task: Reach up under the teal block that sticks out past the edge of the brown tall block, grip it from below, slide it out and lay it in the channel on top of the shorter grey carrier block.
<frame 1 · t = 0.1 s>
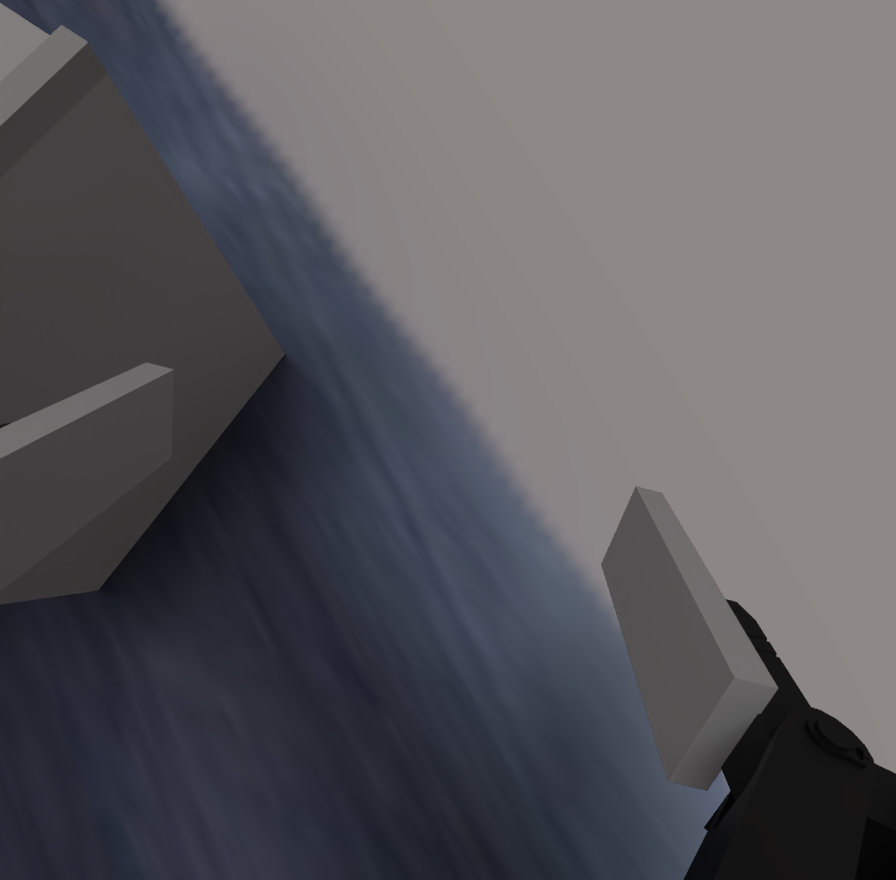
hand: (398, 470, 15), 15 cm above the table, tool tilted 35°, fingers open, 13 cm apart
carrier block: (138, 425, 30), on the table
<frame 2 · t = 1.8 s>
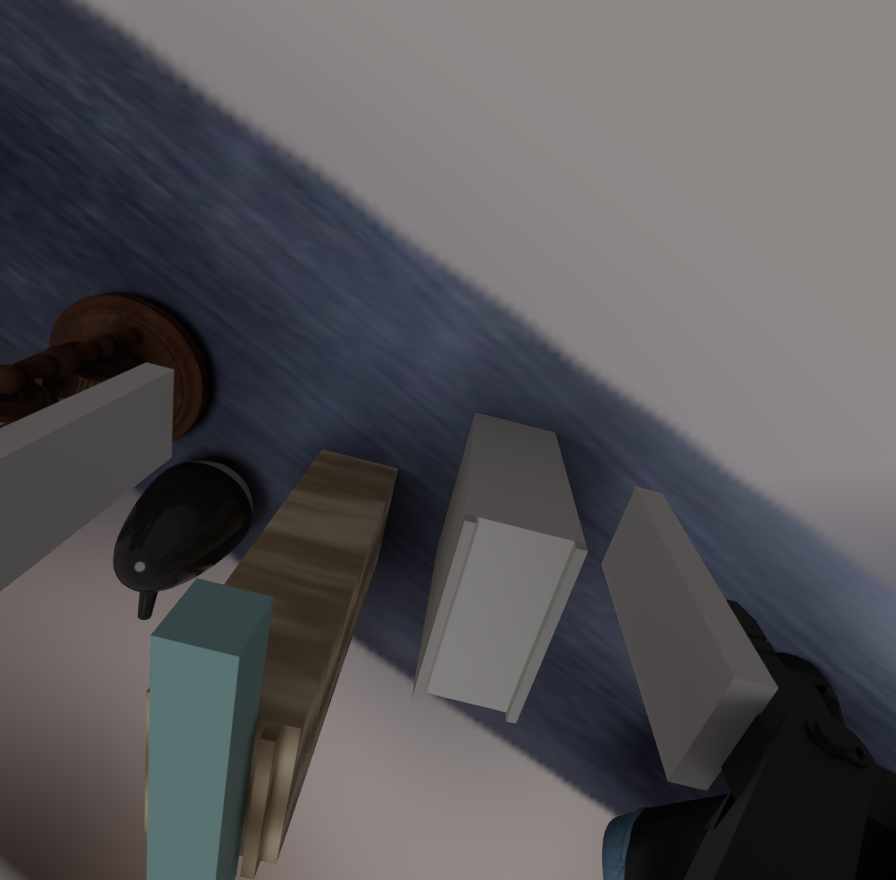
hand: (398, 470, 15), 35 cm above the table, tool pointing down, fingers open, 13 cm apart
teal block: (219, 749, 28), point 30 cm above the table, touching brown tall block
scroll: (143, 367, 53), on the table
carrier block: (493, 492, 55), on the table
pump dispenser: (220, 490, 58), on the table
brown tall block: (350, 508, 57), on the table
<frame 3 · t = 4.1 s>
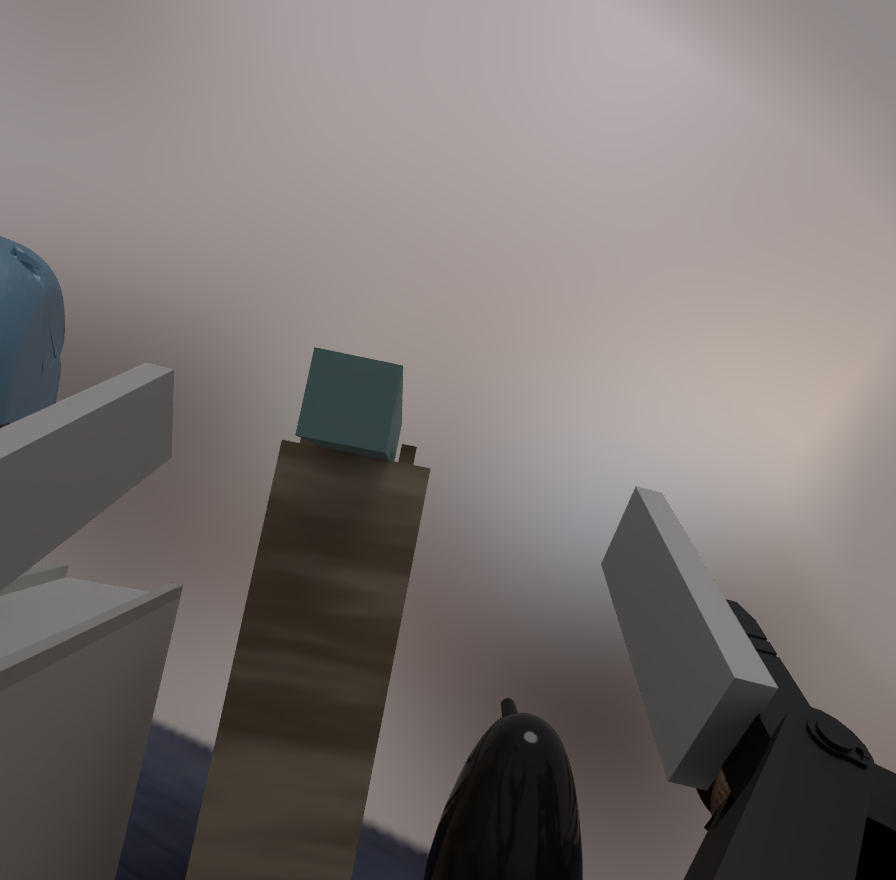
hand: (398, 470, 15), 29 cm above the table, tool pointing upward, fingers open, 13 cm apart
teal block: (361, 456, 32), point 30 cm above the table, touching brown tall block
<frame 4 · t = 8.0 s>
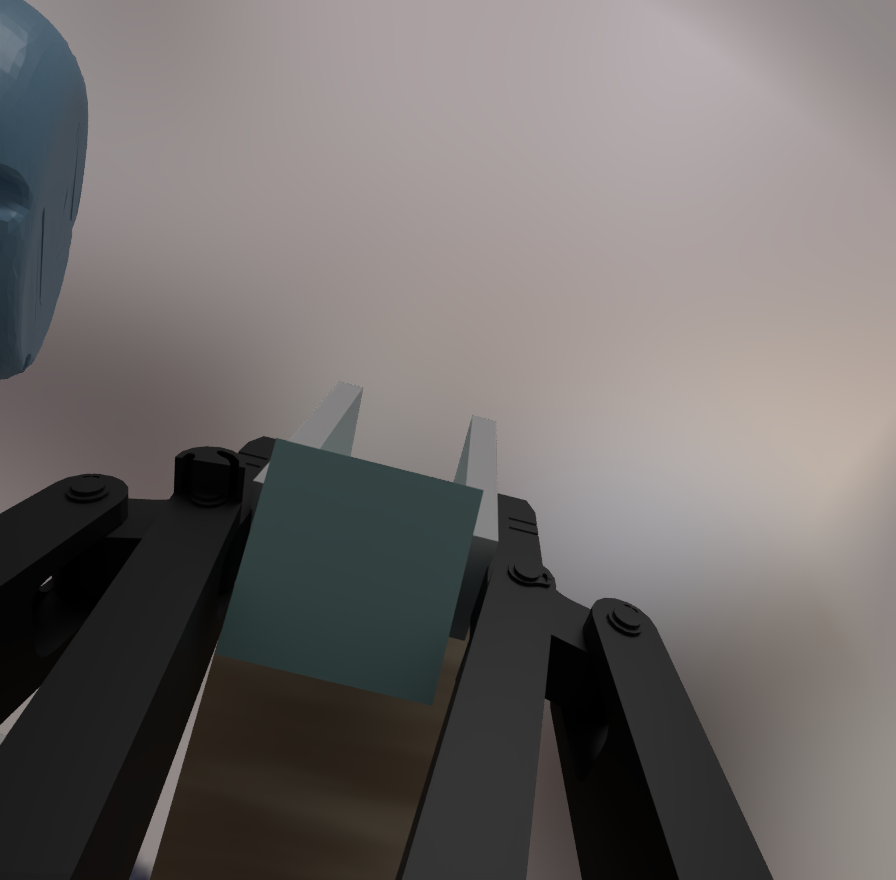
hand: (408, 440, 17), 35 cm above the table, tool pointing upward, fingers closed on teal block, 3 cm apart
teal block: (378, 573, 19), point 30 cm above the table, touching brown tall block, gripper
when the fingers open (25 cm above the table, at t = 14.0 s): teal block drops 1 cm, resting on carrier block.
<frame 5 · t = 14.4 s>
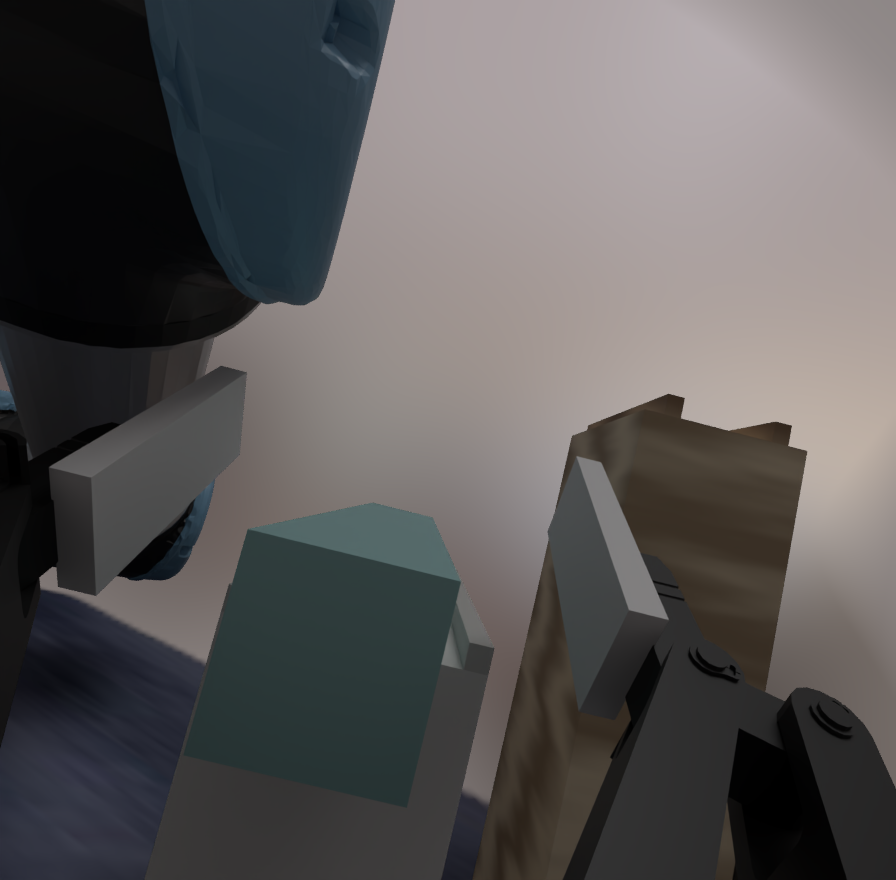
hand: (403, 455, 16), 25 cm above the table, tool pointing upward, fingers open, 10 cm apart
teal block: (367, 616, 19), point 19 cm above the table, touching carrier block
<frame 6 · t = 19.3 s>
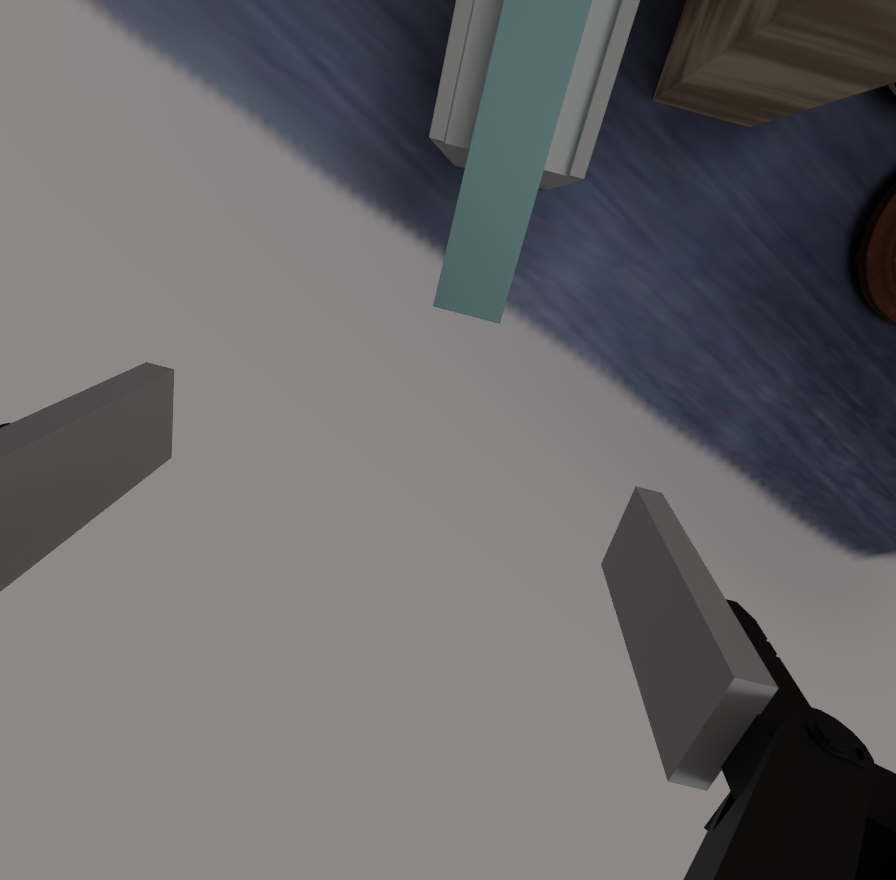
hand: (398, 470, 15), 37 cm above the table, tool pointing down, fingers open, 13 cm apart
teal block: (526, 80, 26), point 19 cm above the table, touching carrier block
carrier block: (528, 66, 42), on the table
brown tall block: (735, 22, 39), on the table
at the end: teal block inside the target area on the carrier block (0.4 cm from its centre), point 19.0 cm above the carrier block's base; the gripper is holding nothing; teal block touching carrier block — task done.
